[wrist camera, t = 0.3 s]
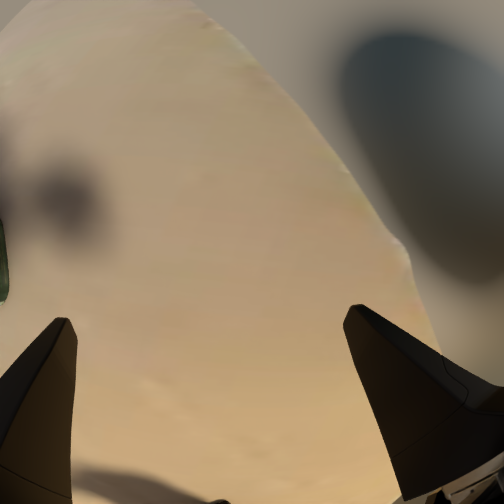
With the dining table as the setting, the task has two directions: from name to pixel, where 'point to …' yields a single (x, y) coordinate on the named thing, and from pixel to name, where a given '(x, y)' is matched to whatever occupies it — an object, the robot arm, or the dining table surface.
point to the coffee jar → (3, 268)
